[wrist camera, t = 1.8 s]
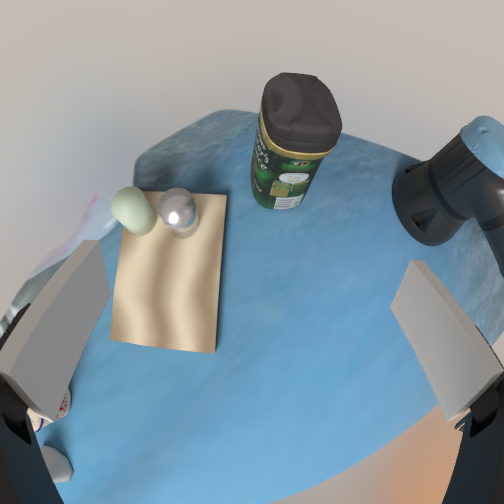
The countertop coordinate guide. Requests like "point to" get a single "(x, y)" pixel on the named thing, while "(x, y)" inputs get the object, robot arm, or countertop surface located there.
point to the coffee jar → (292, 138)
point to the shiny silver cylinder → (178, 212)
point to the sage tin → (133, 211)
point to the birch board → (171, 282)
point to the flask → (56, 464)
